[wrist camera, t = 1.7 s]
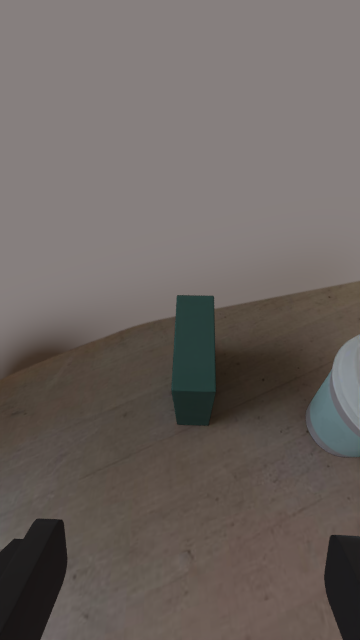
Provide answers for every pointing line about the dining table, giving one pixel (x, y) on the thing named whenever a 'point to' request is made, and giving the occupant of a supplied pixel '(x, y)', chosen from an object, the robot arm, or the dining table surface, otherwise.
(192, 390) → the green book
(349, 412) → the coffee cup
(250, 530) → the dining table surface
